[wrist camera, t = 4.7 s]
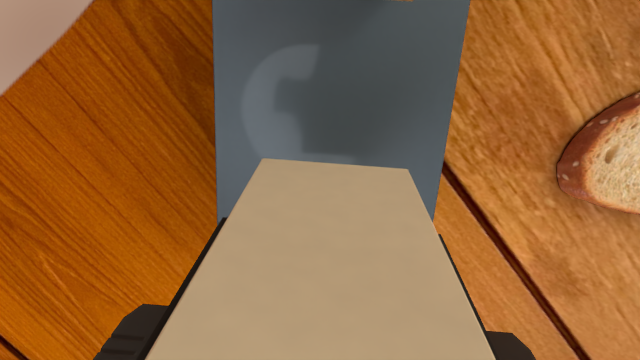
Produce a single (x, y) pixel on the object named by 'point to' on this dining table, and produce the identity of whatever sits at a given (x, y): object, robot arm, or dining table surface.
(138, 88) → the dining table surface
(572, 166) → the bread slice
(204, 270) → the block
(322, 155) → the chest lid
